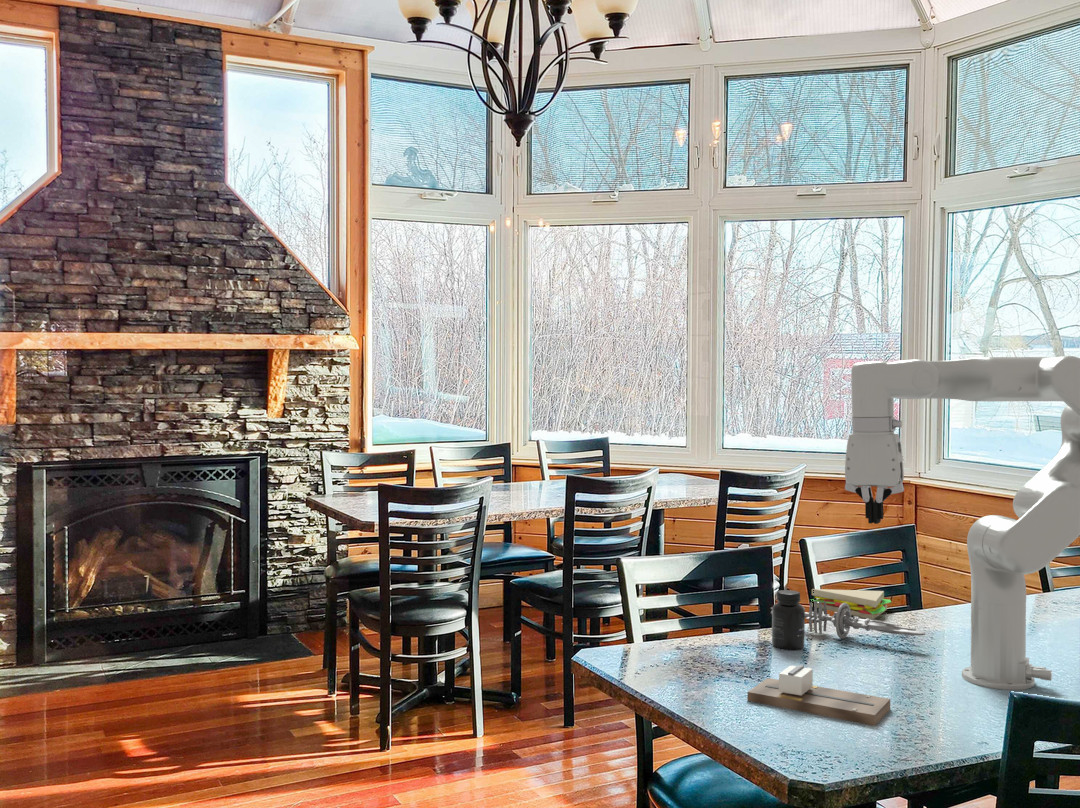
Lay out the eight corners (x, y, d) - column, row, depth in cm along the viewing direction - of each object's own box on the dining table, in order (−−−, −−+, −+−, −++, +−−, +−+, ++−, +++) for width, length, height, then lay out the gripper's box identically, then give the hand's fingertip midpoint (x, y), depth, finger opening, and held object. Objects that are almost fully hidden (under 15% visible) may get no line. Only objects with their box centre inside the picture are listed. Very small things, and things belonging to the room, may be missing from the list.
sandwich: (828, 601, 255) (828, 582, 255) (902, 612, 242) (902, 592, 242) (801, 611, 244) (801, 591, 244) (876, 623, 231) (876, 602, 231)
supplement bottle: (808, 651, 204) (808, 595, 204) (775, 651, 205) (776, 595, 204) (800, 643, 211) (800, 588, 211) (768, 643, 211) (769, 588, 211)
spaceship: (918, 656, 201) (919, 618, 201) (764, 629, 223) (764, 595, 223) (931, 648, 207) (931, 611, 207) (779, 623, 230) (779, 590, 229)
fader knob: (812, 686, 172) (812, 666, 172) (801, 695, 168) (801, 674, 167) (790, 683, 175) (790, 663, 175) (779, 691, 170) (779, 671, 170)
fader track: (890, 710, 167) (890, 698, 167) (874, 727, 159) (874, 714, 159) (767, 688, 179) (767, 677, 179) (747, 703, 171) (747, 691, 171)
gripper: (918, 425, 183) (919, 522, 183) (838, 425, 191) (840, 518, 191) (910, 427, 177) (911, 527, 177) (827, 427, 185) (829, 523, 185)
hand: (874, 522), depth 184 cm, fingers closed
